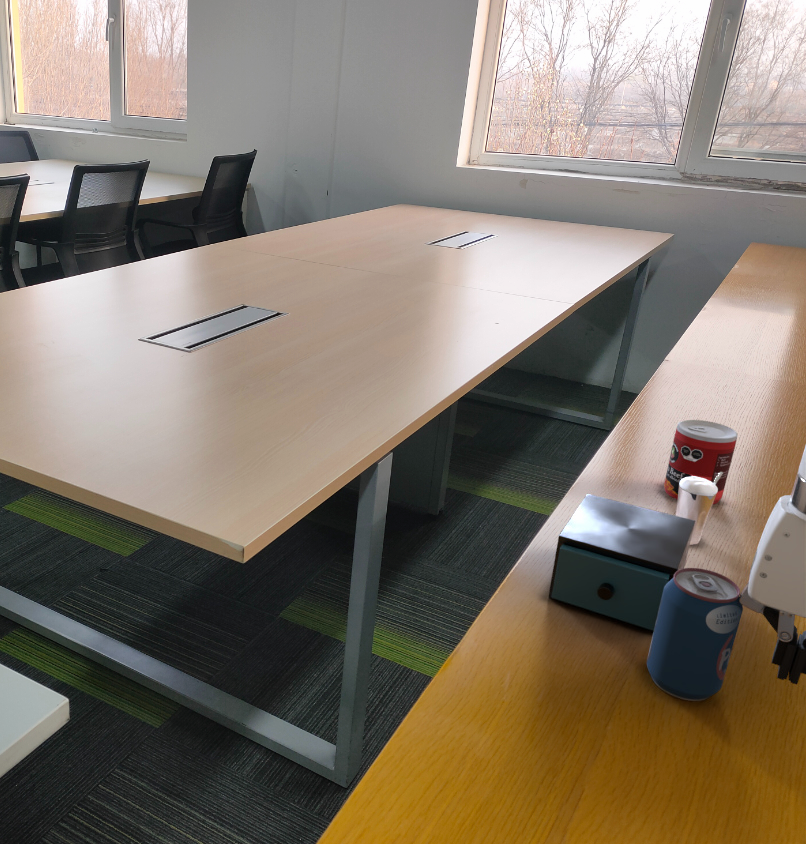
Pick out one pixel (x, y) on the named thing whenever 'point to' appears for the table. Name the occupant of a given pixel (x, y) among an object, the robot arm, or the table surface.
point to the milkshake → (696, 502)
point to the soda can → (694, 633)
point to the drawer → (609, 585)
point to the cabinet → (627, 536)
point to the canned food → (700, 454)
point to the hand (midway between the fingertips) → (787, 673)
